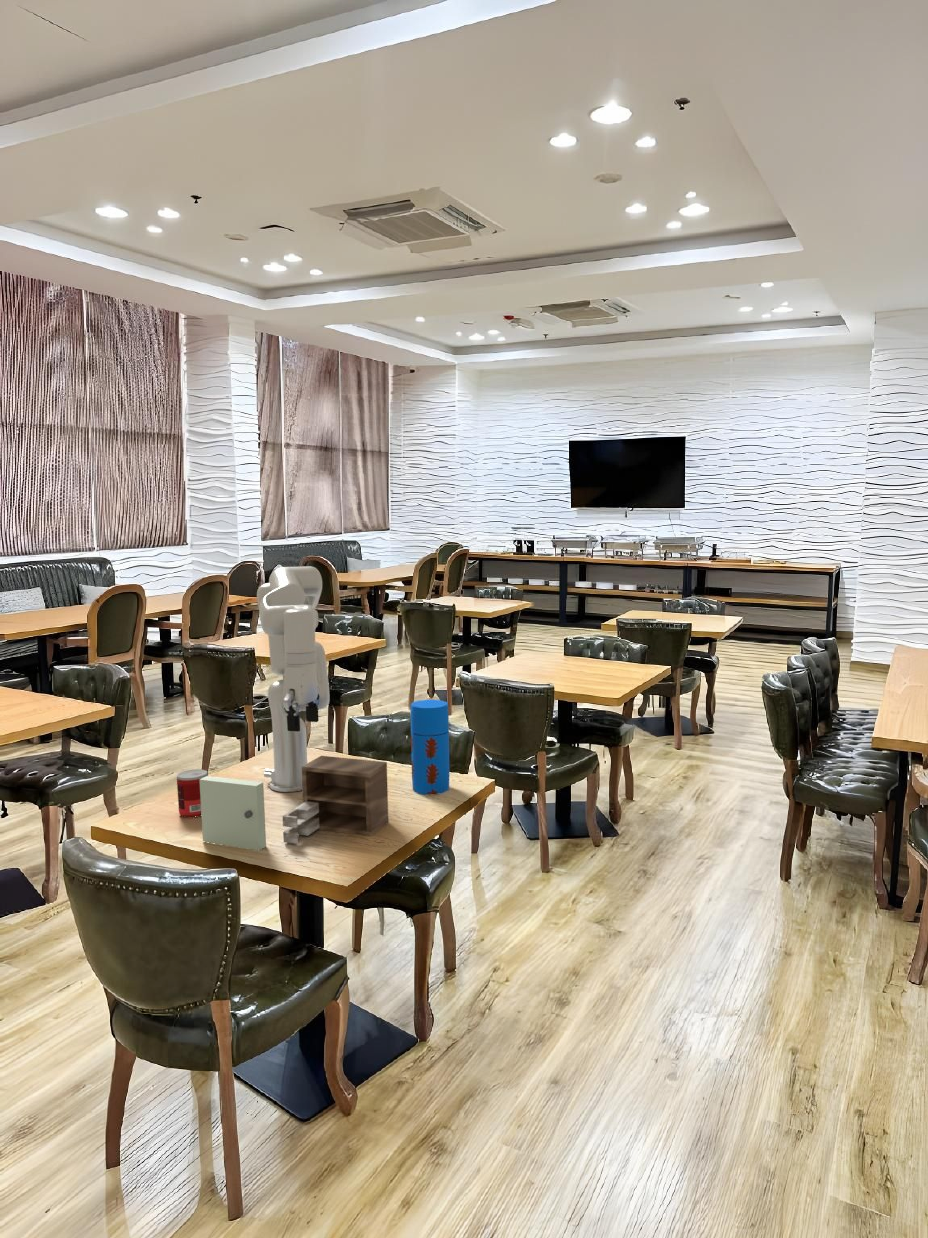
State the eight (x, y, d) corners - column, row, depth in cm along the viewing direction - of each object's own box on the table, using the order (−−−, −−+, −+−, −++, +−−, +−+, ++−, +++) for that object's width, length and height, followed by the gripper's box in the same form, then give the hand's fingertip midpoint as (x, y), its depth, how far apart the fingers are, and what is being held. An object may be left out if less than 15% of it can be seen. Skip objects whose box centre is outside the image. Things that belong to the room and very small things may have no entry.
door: (200, 844, 211) (196, 780, 209) (210, 838, 215) (207, 775, 213) (256, 852, 206) (253, 787, 204) (266, 846, 210) (263, 782, 208)
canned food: (215, 810, 235) (213, 770, 233) (195, 820, 228) (192, 779, 226) (193, 806, 238) (191, 767, 237) (172, 816, 231) (170, 776, 229)
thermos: (414, 796, 244) (412, 709, 241) (410, 784, 255) (408, 700, 251) (452, 793, 246) (451, 707, 242) (447, 781, 256) (445, 698, 253)
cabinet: (280, 843, 211) (277, 779, 209) (323, 814, 231) (321, 755, 229) (350, 853, 205) (348, 787, 202) (388, 822, 224) (386, 762, 222)
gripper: (303, 652, 224) (306, 717, 226) (269, 664, 207) (272, 734, 210) (330, 653, 222) (332, 719, 224) (297, 665, 205) (300, 735, 207)
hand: (303, 726), depth 217 cm, fingers open, 9 cm apart
